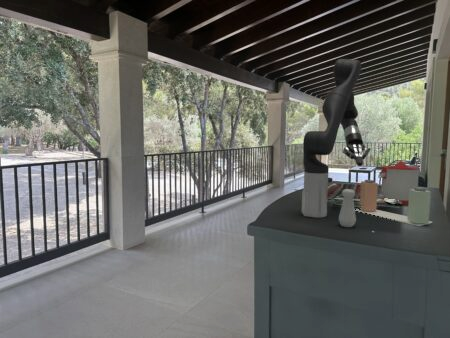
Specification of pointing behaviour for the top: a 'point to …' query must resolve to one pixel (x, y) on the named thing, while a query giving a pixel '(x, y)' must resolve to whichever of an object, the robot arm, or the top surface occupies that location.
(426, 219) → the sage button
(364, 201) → the light brown tall block
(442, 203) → the top surface
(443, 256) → the top surface
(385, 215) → the button board
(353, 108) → the robot arm
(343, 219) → the salt shaker
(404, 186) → the red roofed toy house
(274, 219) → the top surface
